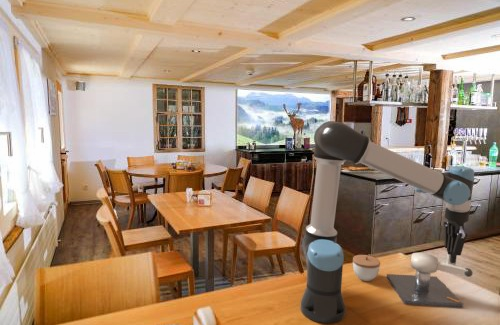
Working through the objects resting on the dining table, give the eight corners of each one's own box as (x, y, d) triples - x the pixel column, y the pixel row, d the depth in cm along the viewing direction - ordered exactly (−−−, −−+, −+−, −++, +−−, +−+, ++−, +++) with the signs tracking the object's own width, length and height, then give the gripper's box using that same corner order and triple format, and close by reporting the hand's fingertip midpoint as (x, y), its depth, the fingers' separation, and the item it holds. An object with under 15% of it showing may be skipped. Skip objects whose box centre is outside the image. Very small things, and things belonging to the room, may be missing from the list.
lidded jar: (347, 271, 145) (349, 251, 144) (371, 271, 146) (372, 250, 145) (358, 284, 135) (359, 262, 133) (383, 283, 136) (385, 261, 134)
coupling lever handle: (408, 268, 127) (409, 258, 127) (412, 260, 135) (413, 250, 134) (471, 284, 116) (473, 273, 116) (471, 273, 124) (473, 263, 123)
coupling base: (404, 304, 121) (406, 279, 120) (386, 277, 141) (388, 255, 139) (462, 307, 119) (465, 282, 118) (436, 280, 139) (438, 258, 138)
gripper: (438, 203, 128) (432, 261, 133) (454, 214, 116) (447, 277, 120) (459, 204, 128) (452, 262, 132) (478, 215, 115) (469, 279, 119)
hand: (450, 269), depth 126 cm, fingers closed
